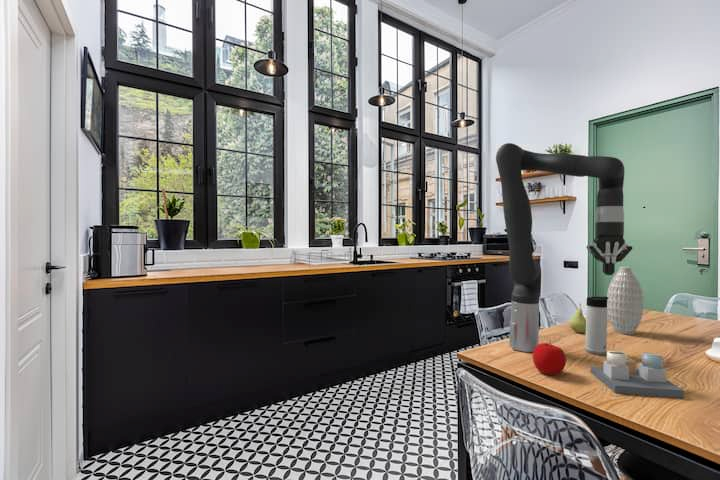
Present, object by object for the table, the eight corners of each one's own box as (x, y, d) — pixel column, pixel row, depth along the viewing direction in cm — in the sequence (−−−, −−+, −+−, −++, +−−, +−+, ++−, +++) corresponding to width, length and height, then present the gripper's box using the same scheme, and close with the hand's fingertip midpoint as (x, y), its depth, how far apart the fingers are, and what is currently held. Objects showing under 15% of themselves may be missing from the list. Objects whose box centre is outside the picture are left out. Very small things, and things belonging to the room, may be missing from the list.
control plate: (614, 393, 95) (615, 372, 95) (590, 372, 109) (591, 354, 109) (684, 398, 92) (684, 376, 92) (650, 376, 106) (650, 358, 106)
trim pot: (623, 373, 104) (624, 356, 104) (618, 369, 107) (618, 353, 107) (635, 373, 103) (635, 357, 103) (629, 369, 106) (629, 354, 106)
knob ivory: (611, 377, 100) (611, 354, 100) (603, 371, 104) (603, 349, 104) (628, 378, 99) (629, 355, 99) (620, 372, 103) (620, 350, 103)
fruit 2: (568, 332, 153) (569, 304, 153) (570, 329, 160) (570, 302, 159) (587, 335, 150) (587, 306, 149) (588, 331, 156) (588, 303, 155)
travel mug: (611, 356, 124) (612, 298, 124) (589, 354, 125) (590, 297, 125) (602, 350, 130) (603, 295, 130) (582, 349, 132) (583, 294, 131)
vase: (606, 327, 163) (607, 265, 162) (642, 331, 156) (643, 266, 155) (605, 333, 153) (606, 267, 152) (643, 338, 145) (645, 269, 145)
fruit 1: (573, 376, 106) (573, 343, 106) (548, 380, 104) (549, 345, 103) (548, 365, 115) (549, 334, 115) (525, 368, 112) (525, 336, 112)
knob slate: (647, 380, 98) (648, 356, 98) (638, 373, 102) (638, 351, 102) (666, 381, 97) (666, 357, 97) (655, 375, 102) (656, 352, 102)
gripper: (592, 220, 113) (591, 275, 113) (639, 220, 111) (638, 276, 111) (582, 221, 120) (581, 273, 121) (626, 221, 118) (625, 274, 118)
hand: (608, 274), depth 116 cm, fingers closed
